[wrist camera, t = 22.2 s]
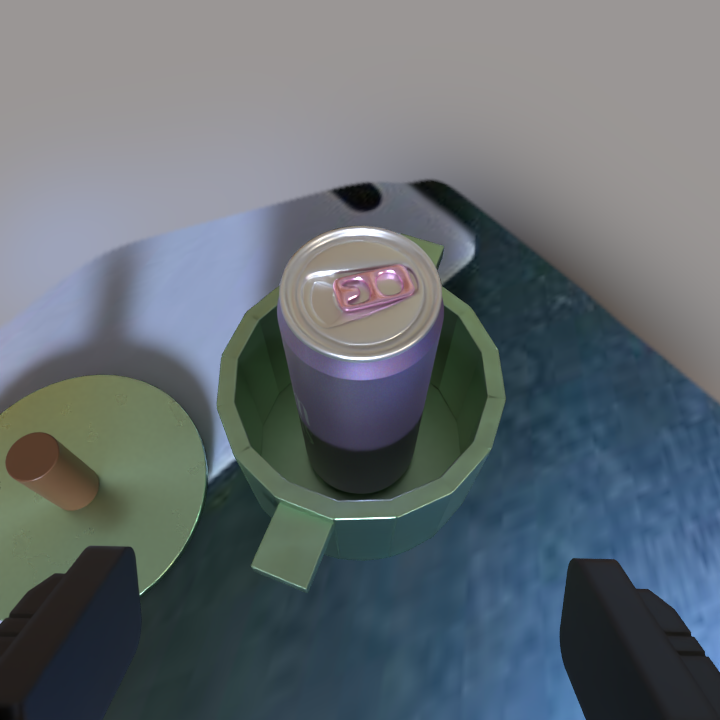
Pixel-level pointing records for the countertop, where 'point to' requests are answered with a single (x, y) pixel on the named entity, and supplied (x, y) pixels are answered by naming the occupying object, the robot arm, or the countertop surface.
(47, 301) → the countertop surface
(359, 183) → the countertop surface
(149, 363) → the countertop surface
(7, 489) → the pot lid
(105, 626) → the robot arm
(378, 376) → the beverage can
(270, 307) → the pot
